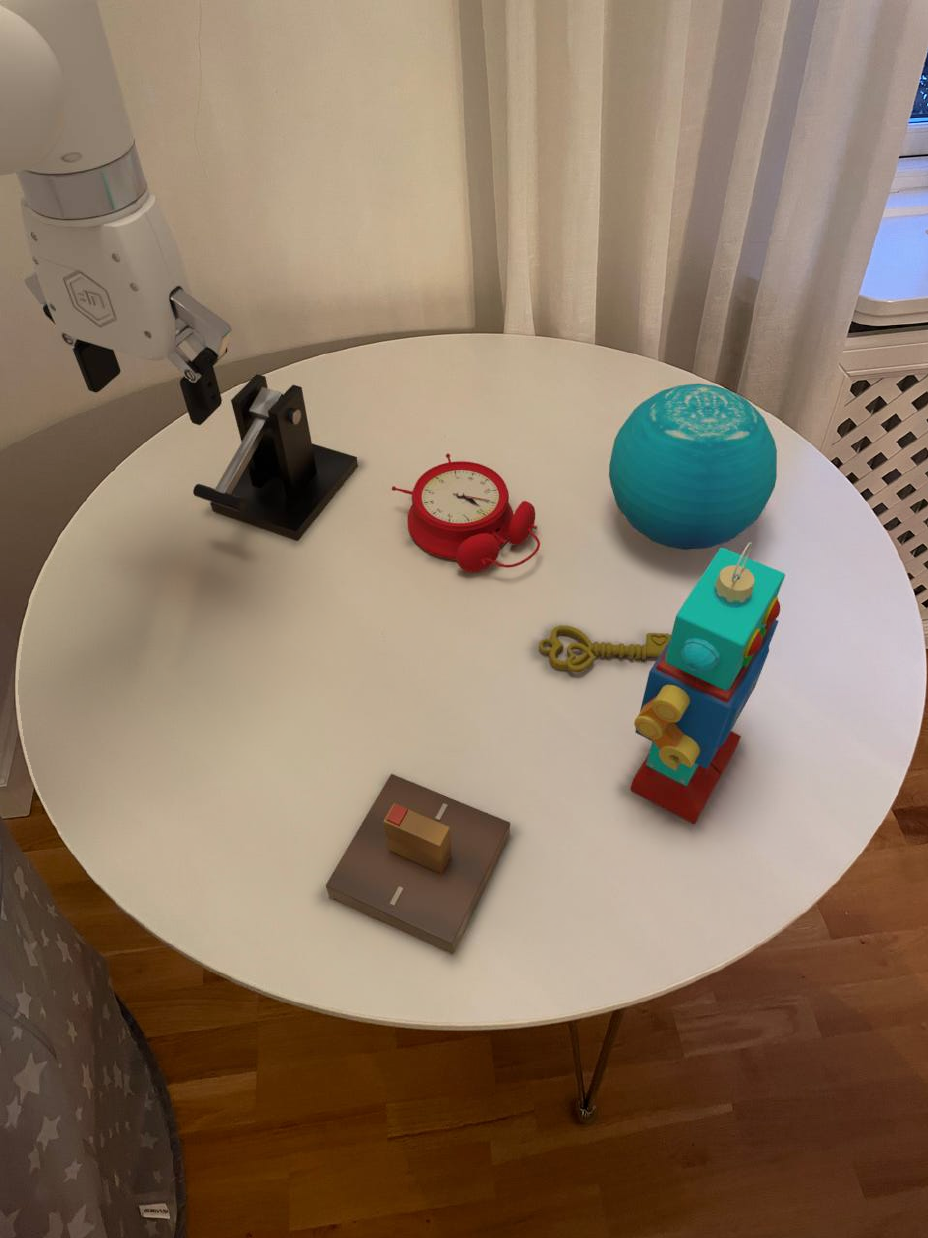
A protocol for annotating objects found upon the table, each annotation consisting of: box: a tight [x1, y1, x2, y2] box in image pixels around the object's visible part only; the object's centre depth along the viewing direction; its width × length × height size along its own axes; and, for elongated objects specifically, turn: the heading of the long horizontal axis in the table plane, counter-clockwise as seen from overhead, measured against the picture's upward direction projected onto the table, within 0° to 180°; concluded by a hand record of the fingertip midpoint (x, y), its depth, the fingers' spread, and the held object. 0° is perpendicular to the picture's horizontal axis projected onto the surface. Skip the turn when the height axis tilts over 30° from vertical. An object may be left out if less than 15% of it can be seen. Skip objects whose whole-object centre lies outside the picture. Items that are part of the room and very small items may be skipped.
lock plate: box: [325, 773, 511, 955], centre depth 68 cm, size 10×10×2 cm
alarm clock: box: [391, 453, 541, 573], centre depth 89 cm, size 10×6×15 cm
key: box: [538, 625, 671, 673], centre depth 81 cm, size 12×1×5 cm
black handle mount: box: [209, 373, 359, 541], centre depth 91 cm, size 12×10×12 cm
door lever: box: [192, 387, 284, 511], centre depth 86 cm, size 12×5×2 cm, turn 155°
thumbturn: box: [383, 803, 451, 874], centre depth 66 cm, size 4×2×5 cm, turn 64°
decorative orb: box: [608, 383, 778, 551], centre depth 85 cm, size 15×15×15 cm
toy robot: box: [629, 541, 786, 825], centre depth 64 cm, size 12×6×25 cm, turn 147°
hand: (155, 397), depth 72 cm, fingers open, 9 cm apart
